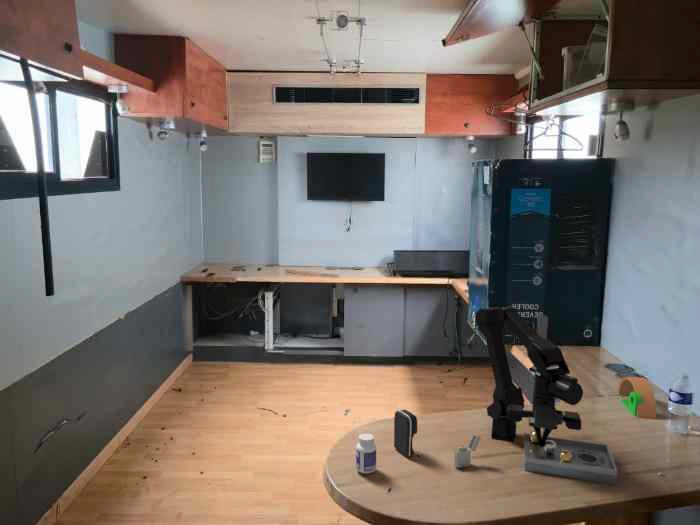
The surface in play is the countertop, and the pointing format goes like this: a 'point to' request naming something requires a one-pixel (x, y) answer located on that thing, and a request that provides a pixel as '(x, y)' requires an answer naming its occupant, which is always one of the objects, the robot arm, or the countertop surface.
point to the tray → (585, 465)
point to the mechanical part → (632, 402)
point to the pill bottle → (366, 454)
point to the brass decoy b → (565, 456)
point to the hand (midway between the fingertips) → (541, 446)
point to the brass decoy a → (534, 437)
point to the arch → (647, 394)
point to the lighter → (466, 452)
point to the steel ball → (550, 446)
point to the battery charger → (404, 431)
